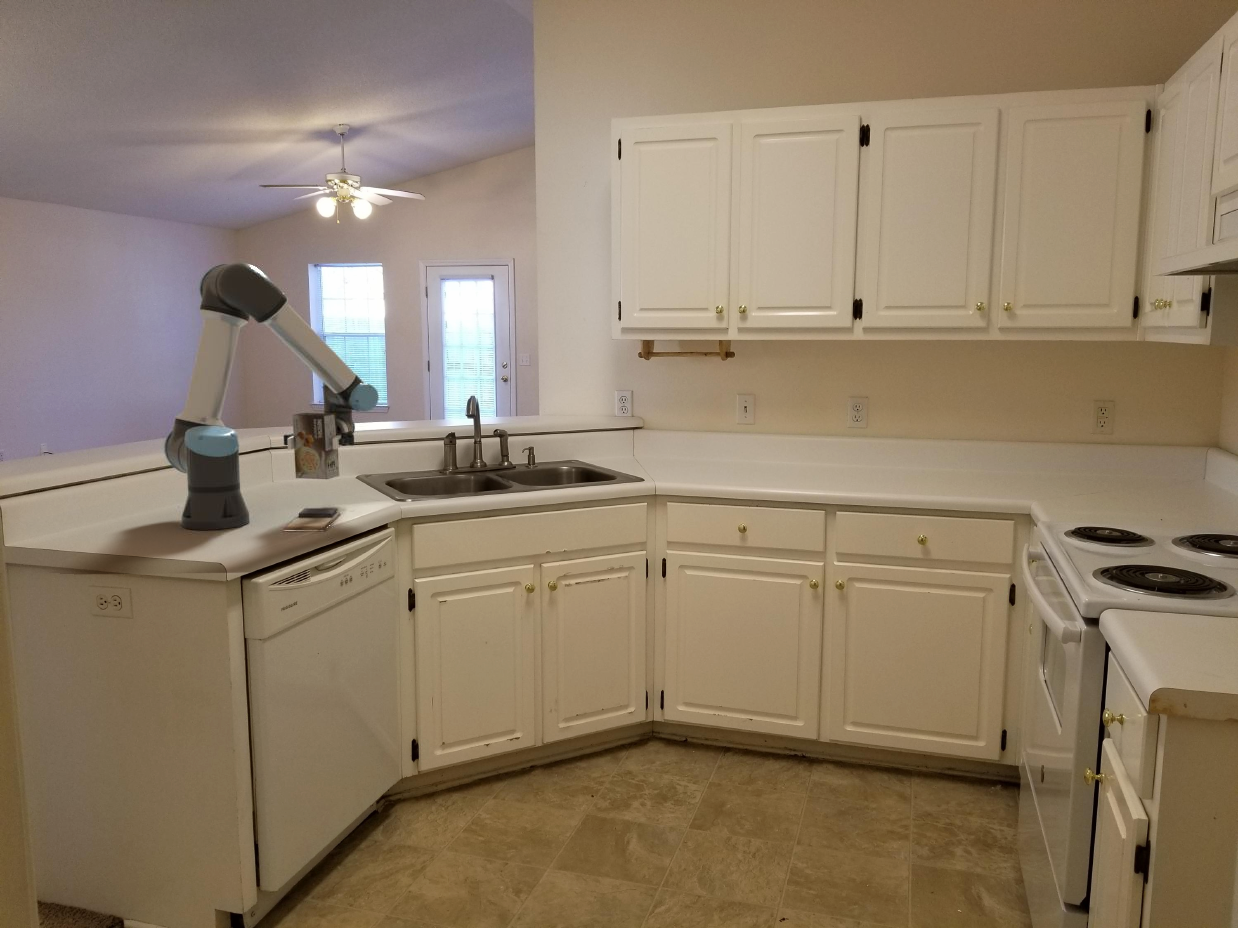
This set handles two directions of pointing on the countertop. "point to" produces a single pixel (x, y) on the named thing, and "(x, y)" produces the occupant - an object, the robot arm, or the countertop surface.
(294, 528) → the stamp station
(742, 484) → the countertop surface
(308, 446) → the grey cardboard box
